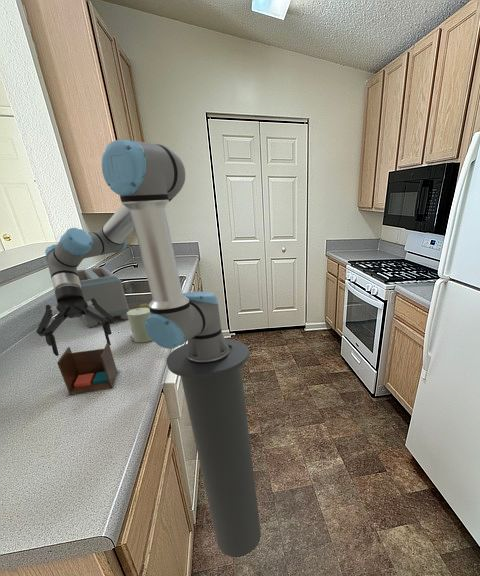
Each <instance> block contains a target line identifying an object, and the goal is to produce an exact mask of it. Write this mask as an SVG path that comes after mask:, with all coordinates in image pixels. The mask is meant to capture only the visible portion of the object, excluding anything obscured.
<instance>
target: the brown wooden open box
mask: <svg viewBox="0 0 480 576" xmlns="http://www.w3.org/2000/svg"><path fill="white" fill-rule="evenodd" d="M57 366H58V368H59V371H60V374H61V376H62V378H63V381H64V384H65V386H66V390H67V392H68V394H69V396H73V395H78V394H86V393H92V392H97V391H104V390H111V389H113V388H114V383H115V381H116V378H117V375H118V368H117V365H116V361H115V359H114V355H113V352H112V348H111V345H109V342H108V343H107V342H106V344H105V345H104V348H99V349H97V348H96V349H90V350H82V351H75V352H72V350H71V347H70V346H68V347H67V348H66V349H65V350H64V352H63V354H62V355H61V357H59V359H58V361H57ZM104 371H105V373H106V376H107V379H108V382H109V383H102V384H96V385H94V383H93V382H92V384H91V385H89V386H83V387H76V388H75V386H74V383H75V381H76V379H77V377H78V376H79V375H84V374H91V373H94V375H95V376H96V373H97V372H104ZM94 378H95V377H94ZM93 380H94V379H93Z"/></svg>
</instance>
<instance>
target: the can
mask: <svg viewBox="0 0 480 576" xmlns="http://www.w3.org/2000/svg"><path fill="white" fill-rule="evenodd" d="M150 315H151V313H150V309H149V308H139V307H138V308H137V307H136V308H133V309H129V311H128V312H127V316H128V319H127V320H128V322H129V325H130V330H131V333H132V337H133V342H135V343H149V342H152V341H153V340H152V339H151V338H150V337H149V335H148V333H147V331H146V329H145V321H146V319H147V318H148V316H150Z"/></svg>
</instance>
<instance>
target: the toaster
mask: <svg viewBox="0 0 480 576" xmlns="http://www.w3.org/2000/svg"><path fill="white" fill-rule="evenodd" d="M77 273H78V276H79V280H80V284H81V289H82V291H83V295H84V299H85V301H86V302H87V301H91V299H92V298H94V299H95V300H96V302H97V304H98V305H99V306H101V307H102V308H103V309H104V310H105V311H106V312H107V313H108V314H110V315H111V316H112V317H113V318H114V317H118V316H119V318H120V319H122V320H125V321H127V320H129V319H128V316H127V312H128V311H130V308H129V304H128V300H127V298H126V293H125V290H124V286H123V283H122V282H123V281H122V279H120V278H119V277H118V276H116V274H115V273H113V272H111V271H110V270H109V269H108V268H106V267H105V266H97V267H92V268H84V269H77ZM87 309H88V310H89V311H91V312H93V313H95V314H97V315H98V316H100V317H102V318H104V319H106V318H105V317H104V316H103V315H102V314H101V313H99V312H98V311H97V310H96V309H95V307H91V306H90V305H89V306H88V307H87ZM81 317H82V319H83V321H84V323H85V324H86V327H87V328H94V327H96V326H97V325H98V323H99V322H98V321H96V320H94V319H92V318H90V317H88V316H86V315H84V314H83V315H82V316H81Z"/></svg>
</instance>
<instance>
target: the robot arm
mask: <svg viewBox="0 0 480 576" xmlns="http://www.w3.org/2000/svg"><path fill="white" fill-rule="evenodd" d="M101 173H102V177H103V179H104V181H105V184H106V185H107V186H108V187H109V189H110V190H111V191H112V192H113V193H114V194H117V195H119V198H120V199H119V200H120V202H121V205H120V206H119V207H118V208H117V210H116V211H115V212H114V213H113V215H112V216H111V217H110V218H109V219H108V220H107V221H106V222H105V224H104V225H102V227H101V228H100V229H99V230H96V231H95V230H94V231H88V232H87V231H85V230H84V229H81V228H77V227H70V228H67V230H66V231H65V232H64V234H62V236H61V237H60V239H59V241H58V243H55V244H51V245H50V246H47V247H46V248H45V251H44V253H45V260H46V261H45V262H46V264H47V267H48V271H49V274H50V278H51V283H52V287H53V291H54V295H55V299H56V305H50V304H46V305H45V312H44V314H43V316H42V318H41V319H40V323H39V324H38V327H37V329H36V331H35V332H36V334H37V335H38V336H39V337H45V341H46V344H47V345H48V346H49V347H51V349H52V353H53V355H55V357H58V356H60V354H59V350H58V345H57V341H56V338H55V335H54V333H55V331H57V329H58V328H59V327H60V326H61V325H62V323H63V322H64V321H66V319H67V318H69V319H73V318H81V317H82V315H83V314H84V315H86V316H88V317H90V318H92V319H94V320H96V321H97V323H99V324H101V326H102V330H103V332H104V336H105V340H106V344H107V343H108V342H109V345H110V346H111V345H112V344H111V340H110V337H109V336H110V335H112V333H113V332H112V330H111V325H114V324H115V323H116V321H115V318H114V317H112V316H111V315H110V314H108V313H107V312H106V311H105V310H104V309H103V308H102V307H101V306H99V305H98V304H97V302H96V300H95V299H94V298H92V299H91V301H87V302H86V301H85V299H84V295H83V291H82V289H81V284H80V280H79V276H78V273H77V270H78V267H79V266H80V265H81V263H82V261H83V260H84V259H88V258H89V259H90V258H94V257H98V256H105V255H108V254H115V253H119V252H121V251H124V250H126V249H127V247H128V239H129V238H130V237H132V235H133V234H134V233H135V235H136V239H137V243H138V247H139V251H140V255H141V259H142V263H143V267H144V271H145V274H146V278H147V282H148V287H149V291H150V295H151V298H152V299H151V301H150V302H149V303H148V304H149V309H150V313H151V315H150V316H148V318H147V319H146V321H145V329H146V331H147V333H148V335H149V337H150V338H151V339H152V341H153V342H154V343H155V344H156V345H157V346H159V347H162V348H163V349H168V350H171V349H173V350H174V349H177V348H179V347H181V346H183V345H185V344H187V351H186V355H187V359H188V360H189V361H190V362H193V363H197V364H208V363H214V362H217V361H220V360H222V359H224V358H226V357H227V356H228V355H229V353H230V351H229V347H230V348H232V346H231V345H229V344H227V342H226V340H225V336H224V334H223V331H222V324H221V317H220V310H219V302H218V297H217V295H216V294H215V293H213V292H209V291H189V292H183V290H182V284H181V279H180V275H179V270H178V266H177V260H176V257H175V252H174V247H173V242H172V237H171V233H170V228H169V222H168V219H167V214H166V206H167V205H168V203H169V202H171V201H172V200H173V199H174V198H175V197H176V196H178V194H179V193H180V192H181V191H182V189H183V187H184V185H185V182H186V169H185V165H184V163H183V161H182V159H181V157H180V156H179V155H178V154H177V153H176V152H175V150H173V149H172V148H171V147H169V146H166V145H164V144H159V143H151V142H144V141H138V140H135V139H116V140H113V141H111V142H110V143H108V144H107V145H106V147H105V149H104V152H103V153H102V156H101ZM89 305H90V306H91V307H95V309H96V310H97V311H98V312H99V313H101V314H102V315H103V316H104V317H105V318H102V317H100V316H98V315H97V314H95V313H93V312H91V311H89V310H88V309H87V307H88V306H89ZM56 311H57V312H58V313H57V314H56V317H55V318H54V319H53V320H52V318H53V315H54V314H55V313H56ZM51 320H52V321H51ZM50 322H51V323H50ZM186 342H187V343H186Z"/></svg>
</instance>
